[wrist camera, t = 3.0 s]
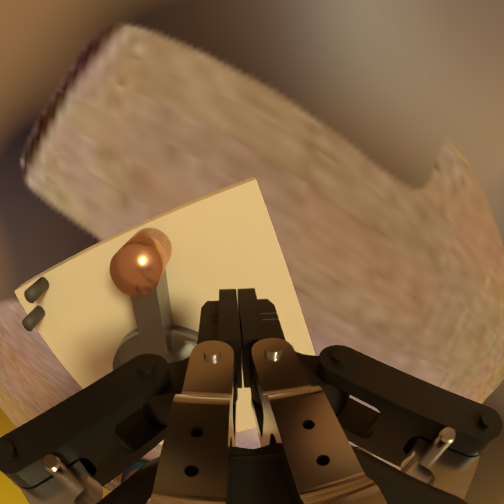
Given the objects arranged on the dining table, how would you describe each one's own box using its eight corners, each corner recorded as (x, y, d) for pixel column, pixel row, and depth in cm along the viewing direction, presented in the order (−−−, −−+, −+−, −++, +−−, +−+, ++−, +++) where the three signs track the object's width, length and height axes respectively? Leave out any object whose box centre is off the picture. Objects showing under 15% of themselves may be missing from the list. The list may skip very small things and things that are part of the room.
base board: (325, 390, 28) (336, 420, 24) (143, 434, 29) (138, 460, 25) (252, 176, 20) (260, 183, 16) (24, 282, 21) (0, 303, 16)
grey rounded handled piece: (232, 405, 24) (234, 437, 20) (133, 402, 23) (125, 432, 20) (223, 224, 18) (222, 244, 14) (84, 231, 17) (57, 250, 14)
